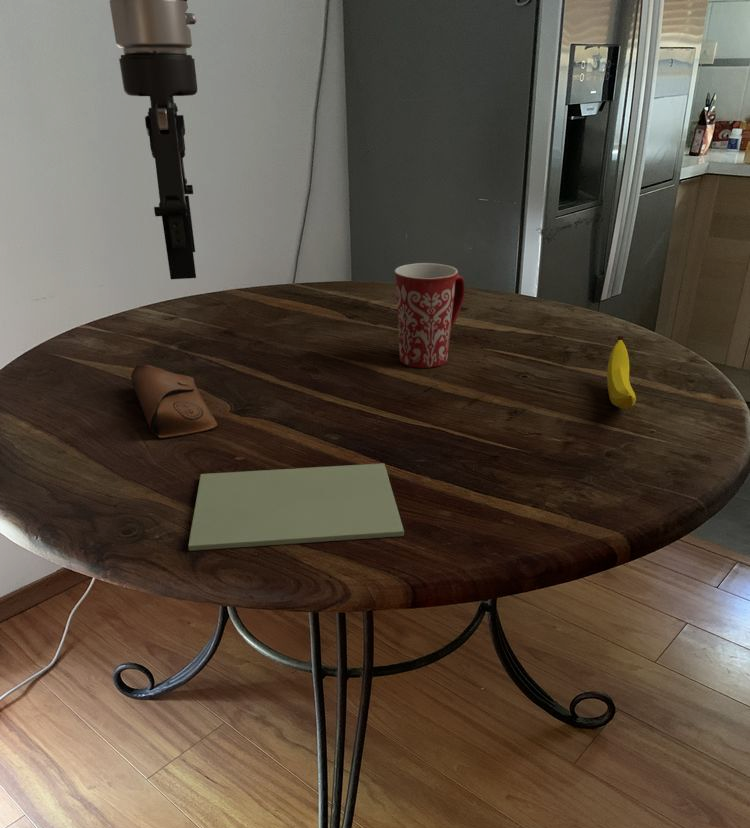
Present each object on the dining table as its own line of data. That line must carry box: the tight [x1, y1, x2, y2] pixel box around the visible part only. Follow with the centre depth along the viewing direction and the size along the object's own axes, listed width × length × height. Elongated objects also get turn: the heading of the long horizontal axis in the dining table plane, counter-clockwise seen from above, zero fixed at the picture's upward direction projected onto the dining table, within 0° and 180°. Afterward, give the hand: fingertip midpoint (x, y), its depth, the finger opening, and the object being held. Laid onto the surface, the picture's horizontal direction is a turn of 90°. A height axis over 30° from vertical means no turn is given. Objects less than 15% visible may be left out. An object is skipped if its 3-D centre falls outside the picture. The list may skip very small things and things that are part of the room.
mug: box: [393, 262, 466, 369], centre depth 109 cm, size 13×9×14 cm
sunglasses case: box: [130, 363, 218, 439], centre depth 95 cm, size 18×7×7 cm
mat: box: [187, 462, 405, 552], centre depth 74 cm, size 20×14×1 cm
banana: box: [606, 335, 637, 410], centre depth 95 cm, size 3×19×6 cm, turn 168°
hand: (183, 264), depth 86 cm, fingers open, 13 cm apart
